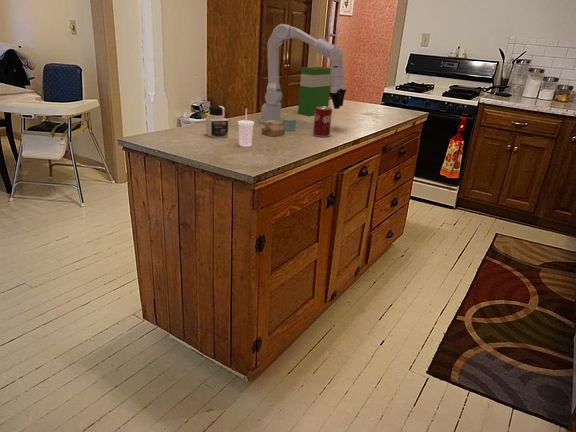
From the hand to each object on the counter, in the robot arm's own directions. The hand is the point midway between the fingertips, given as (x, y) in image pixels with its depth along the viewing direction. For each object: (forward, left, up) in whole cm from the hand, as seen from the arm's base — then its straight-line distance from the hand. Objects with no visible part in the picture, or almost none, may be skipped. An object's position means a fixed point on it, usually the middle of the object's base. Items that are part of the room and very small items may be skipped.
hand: (338, 107), depth 200 cm
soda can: (+5, -14, -11) cm, 18 cm away
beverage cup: (+5, -54, -11) cm, 55 cm away
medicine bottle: (-13, -56, -11) cm, 59 cm away
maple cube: (-5, -33, -8) cm, 34 cm away
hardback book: (-37, +19, -11) cm, 43 cm away
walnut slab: (-5, -33, -11) cm, 35 cm away
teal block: (-9, -21, -11) cm, 25 cm away
